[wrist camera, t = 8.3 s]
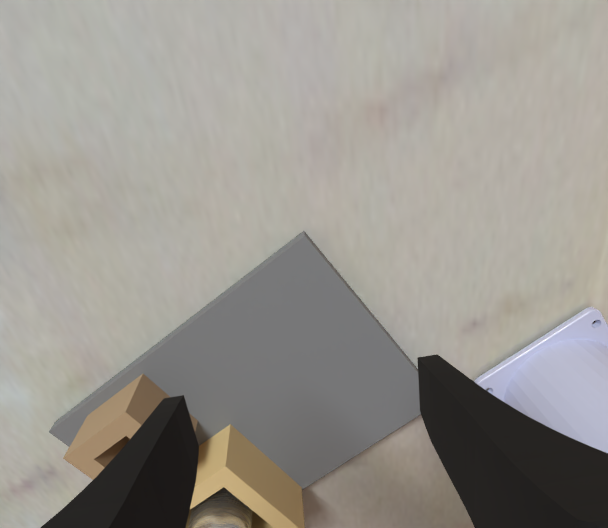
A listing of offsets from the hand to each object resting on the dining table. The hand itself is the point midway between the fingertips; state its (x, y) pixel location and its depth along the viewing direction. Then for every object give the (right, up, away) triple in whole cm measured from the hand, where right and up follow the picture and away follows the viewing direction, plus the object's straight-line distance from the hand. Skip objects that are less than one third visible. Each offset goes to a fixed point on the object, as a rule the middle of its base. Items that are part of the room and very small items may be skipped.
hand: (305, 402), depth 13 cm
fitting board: (-3, -4, +12) cm, 13 cm away
